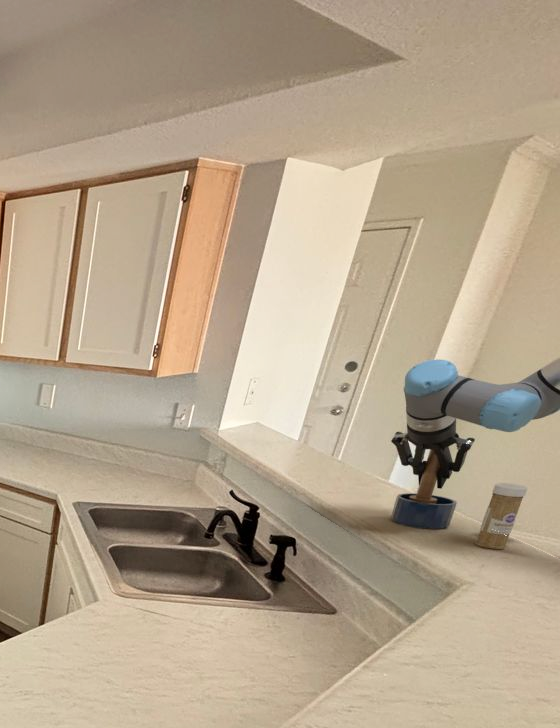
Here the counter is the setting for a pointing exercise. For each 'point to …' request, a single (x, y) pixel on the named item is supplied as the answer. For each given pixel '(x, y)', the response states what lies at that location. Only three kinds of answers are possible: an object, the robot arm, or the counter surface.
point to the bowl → (423, 512)
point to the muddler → (427, 481)
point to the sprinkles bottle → (500, 515)
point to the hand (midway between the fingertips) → (432, 482)
